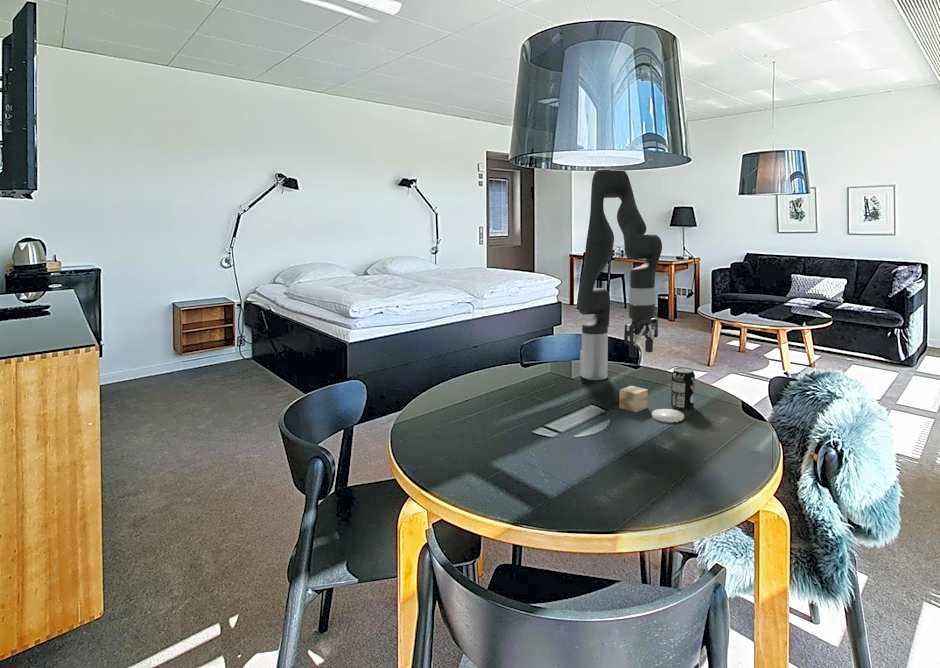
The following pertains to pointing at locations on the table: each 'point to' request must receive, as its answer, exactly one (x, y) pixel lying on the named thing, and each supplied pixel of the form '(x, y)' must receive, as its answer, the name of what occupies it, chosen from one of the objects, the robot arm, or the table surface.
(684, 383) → the beverage can
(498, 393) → the table surface
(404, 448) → the table surface
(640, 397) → the oak cube
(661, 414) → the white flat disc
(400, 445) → the table surface
